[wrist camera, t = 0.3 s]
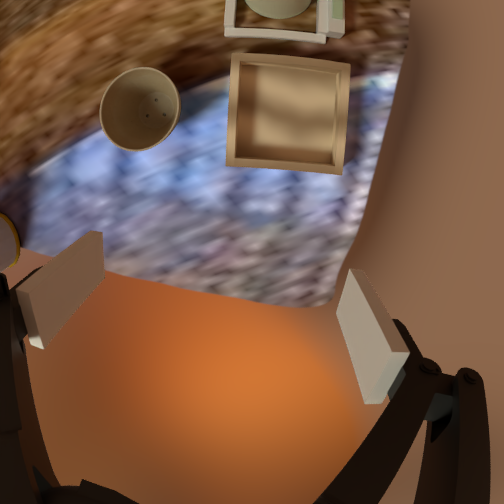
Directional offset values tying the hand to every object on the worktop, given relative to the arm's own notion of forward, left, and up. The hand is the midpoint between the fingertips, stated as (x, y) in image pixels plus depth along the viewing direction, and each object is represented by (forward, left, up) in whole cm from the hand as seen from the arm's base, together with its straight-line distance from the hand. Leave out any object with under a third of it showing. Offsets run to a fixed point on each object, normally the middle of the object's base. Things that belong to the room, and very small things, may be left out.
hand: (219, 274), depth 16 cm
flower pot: (-9, -12, -27) cm, 31 cm away
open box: (-9, +5, -27) cm, 29 cm away
